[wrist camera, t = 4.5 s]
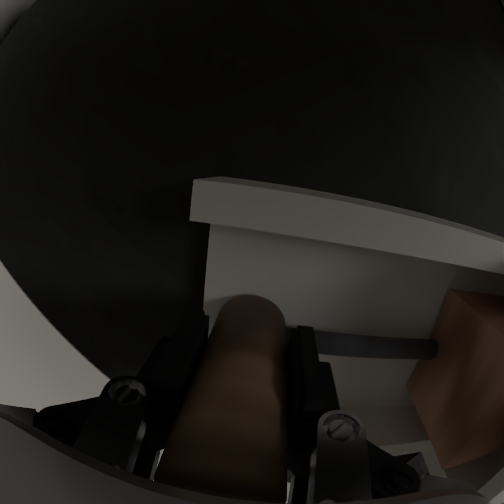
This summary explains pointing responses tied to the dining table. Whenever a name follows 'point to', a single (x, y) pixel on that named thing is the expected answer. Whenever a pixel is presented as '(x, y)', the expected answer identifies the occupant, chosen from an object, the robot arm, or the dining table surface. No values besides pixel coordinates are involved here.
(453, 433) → the wooden mallet
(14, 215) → the dining table surface
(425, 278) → the shelf lane
